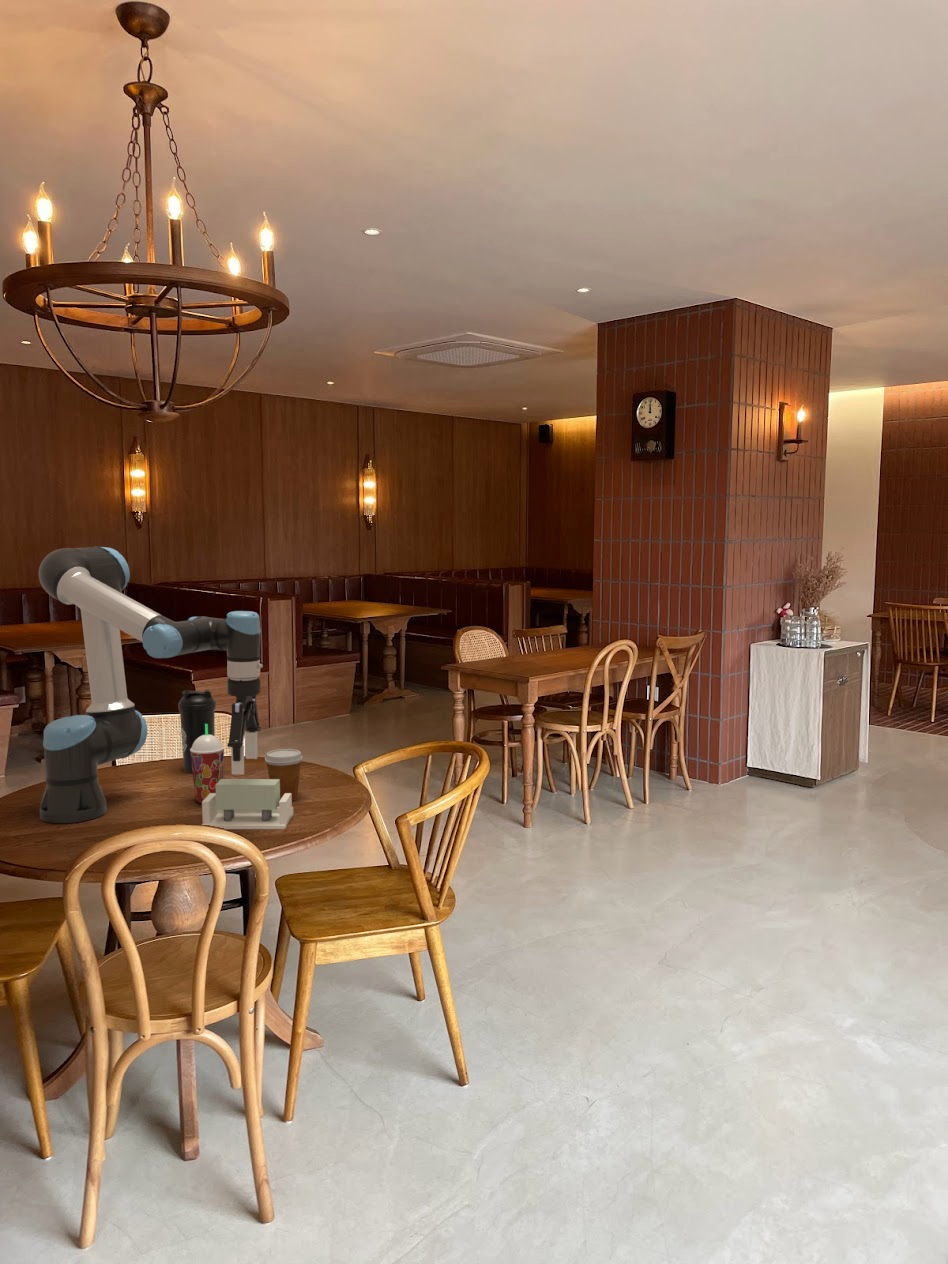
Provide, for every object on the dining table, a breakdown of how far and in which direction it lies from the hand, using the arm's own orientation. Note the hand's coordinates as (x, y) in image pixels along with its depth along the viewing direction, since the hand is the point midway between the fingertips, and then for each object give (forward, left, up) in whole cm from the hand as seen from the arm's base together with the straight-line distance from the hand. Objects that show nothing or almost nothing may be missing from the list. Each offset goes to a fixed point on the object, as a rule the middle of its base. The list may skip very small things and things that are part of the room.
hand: (244, 766), depth 226 cm
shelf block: (+1, 0, -10) cm, 10 cm away
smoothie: (-14, +17, -14) cm, 26 cm away
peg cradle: (0, 0, -14) cm, 14 cm away
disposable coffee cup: (+5, +19, -14) cm, 24 cm away
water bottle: (-25, +47, -14) cm, 55 cm away
